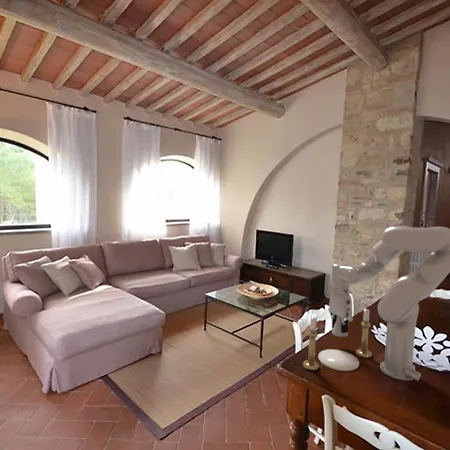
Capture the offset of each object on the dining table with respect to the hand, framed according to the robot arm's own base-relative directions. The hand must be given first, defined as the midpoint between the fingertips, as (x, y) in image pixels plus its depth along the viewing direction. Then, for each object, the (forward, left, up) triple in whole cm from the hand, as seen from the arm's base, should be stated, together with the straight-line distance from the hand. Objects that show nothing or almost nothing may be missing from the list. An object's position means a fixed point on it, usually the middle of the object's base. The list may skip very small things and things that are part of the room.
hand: (339, 329), depth 144 cm
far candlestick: (-10, -5, -8) cm, 14 cm away
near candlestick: (-10, +23, -8) cm, 27 cm away
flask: (0, 0, -2) cm, 2 cm away
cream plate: (-10, +9, -8) cm, 16 cm away
